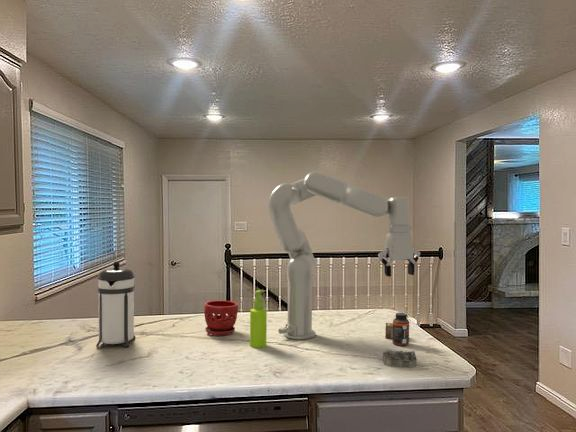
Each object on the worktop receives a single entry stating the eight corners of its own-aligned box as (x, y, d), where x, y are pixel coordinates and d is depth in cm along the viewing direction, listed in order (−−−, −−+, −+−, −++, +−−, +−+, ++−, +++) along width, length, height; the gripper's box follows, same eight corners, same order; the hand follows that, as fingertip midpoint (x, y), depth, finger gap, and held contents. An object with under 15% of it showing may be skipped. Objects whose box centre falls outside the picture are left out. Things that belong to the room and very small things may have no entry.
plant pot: (228, 339, 175) (228, 307, 174) (198, 335, 179) (198, 304, 178) (243, 330, 187) (243, 300, 187) (214, 327, 191) (214, 298, 191)
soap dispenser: (270, 343, 170) (270, 289, 169) (261, 349, 163) (262, 292, 163) (256, 341, 172) (256, 288, 171) (247, 346, 166) (247, 291, 165)
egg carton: (382, 366, 148) (382, 354, 148) (382, 359, 155) (382, 347, 155) (417, 369, 146) (417, 356, 146) (415, 361, 153) (415, 349, 153)
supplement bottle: (409, 347, 167) (409, 316, 167) (392, 345, 169) (393, 315, 168) (408, 342, 173) (409, 312, 173) (392, 341, 174) (392, 311, 174)
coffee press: (148, 343, 169) (148, 261, 168) (106, 353, 157) (105, 265, 156) (125, 333, 181) (125, 257, 180) (84, 342, 169) (84, 260, 168)
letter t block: (398, 340, 176) (398, 326, 176) (385, 339, 177) (385, 325, 177) (398, 336, 181) (398, 323, 181) (385, 335, 182) (385, 322, 182)
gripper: (413, 228, 178) (414, 272, 179) (373, 230, 173) (374, 275, 174) (425, 229, 171) (425, 275, 172) (383, 231, 166) (383, 278, 167)
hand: (399, 275), depth 173 cm, fingers open, 9 cm apart
